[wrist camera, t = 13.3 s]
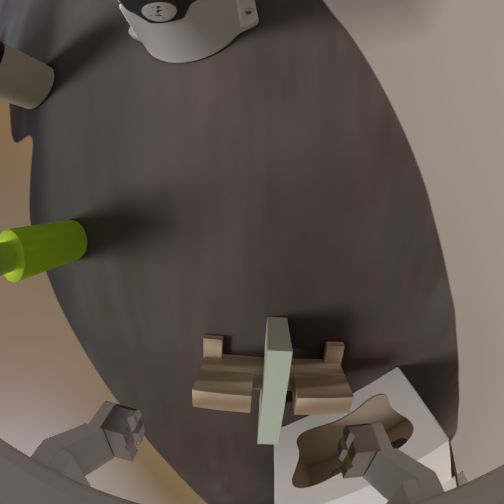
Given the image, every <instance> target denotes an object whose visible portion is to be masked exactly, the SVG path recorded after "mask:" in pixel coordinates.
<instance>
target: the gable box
mask: <svg viewBox="0 0 504 504" xmlns="http://www.w3.org/2000/svg"><path fill="white" fill-rule="evenodd" d="M353 396H354V398H353V402H352V405H351V408H350V412H349V413H343V414H314V415H309V416H307V417H305V418H303V419H300V420H298V421H296V422H293V423H291V424H289V425H286V426H284V427H282V428H281V430H280V435H279V441H278V444H274V504H386V503H387V502H388V500H387V499H386V498H384V497H383V496H382V495H381V494H380V493H379V492H378V491H377V490H376V489H375V488H373V487H372V486H371V485H370V484H369V483H368V482H367V481H366V480H365V479H364V478H363V477H355V478H345V479H343V475H342V473H340V474H338V475H336V476H334V477H332V478H331V475H332V473H333V472H334V471H335V470H337V469H339V468H341V465H342V461H341V460H339V458H338V452H337V448H338V442H339V440H340V438H341V437H343V429H344V427H345V426H347V425H358V424H367V423H368V424H369V423H376V422H381V423H382V424H383V427H384V429H385V431H386V433H387V436H388V438H389V440H390V442H391V443H393V442H395V441H397V440H399V439H406V440H407V442H406V443H405V444H404V445H403V446H401V447H400V448H398V449H399V450H400V451H402V452H403V453H405V454H407V455H408V456H410V457H411V458H413V459H415V460H416V461H418V462H420V463H421V464H423V465H425V466H426V467H428V468H430V469H431V470H433V471H435V472H436V474H437V477H438V479H439V481H440V483H441V485H442V487H443V489H444V491H445V492H446V491H448V490H451V489H453V488H456V487H458V486H461V485H463V484H465V483H468V482H467V479H466V477H465V475H464V473H463V471H462V472H460V473H459V474H457V473H456V467H455V462H454V457H453V452H452V447H451V443H450V439H449V438H448V436H447V435H446V433H445V432H444V430H443V429H442V428H441V426H440V425H439V423H438V422H437V420H436V419H435V417H434V416H433V414H432V413H431V412H430V410H429V409H428V407H427V406H426V404H425V403H424V402H423V400H422V399H421V397H420V396H419V395H418V393H417V392H416V390H415V389H414V388H413V386H412V385H411V383H410V382H409V381H408V379H407V378H406V377H405V375H404V374H403V372H402V371H401V370H400V368H398V367H396V368H394V369H393V370H391V371H390V372H388V373H387V374H385V375H383V376H382V377H380V378H378V379H377V380H375V381H373V382H372V383H370V384H368V385H367V386H365V387H363V388H361V389H360V390H358V391H356V392H354V393H353Z"/></svg>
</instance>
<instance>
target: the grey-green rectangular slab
mask: <svg viewBox="0 0 504 504" xmlns="http://www.w3.org/2000/svg"><path fill="white" fill-rule="evenodd" d="M292 352H293V351H292V345H291V339H290V333H289V327H288V321H287V318H282V317H267V326H266V338H265V355H264V373H263V383H262V390H261V391H260V401H259V423H258V443H257V444H278V441H279V435H280V430H281V424H282V418H283V412H284V406H285V400H286V393H287V387H288V380H289V374H290V367H291V360H292Z"/></svg>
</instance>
